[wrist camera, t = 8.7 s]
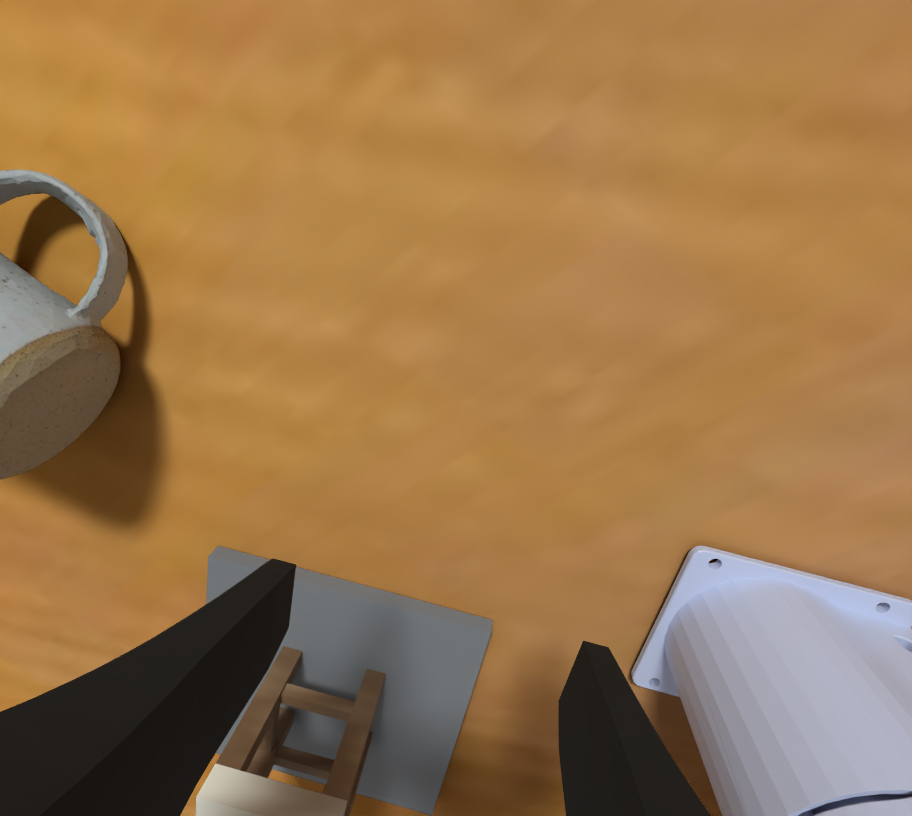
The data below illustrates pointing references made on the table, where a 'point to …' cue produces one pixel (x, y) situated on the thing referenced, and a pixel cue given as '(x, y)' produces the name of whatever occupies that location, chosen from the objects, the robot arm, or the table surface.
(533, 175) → the table surface
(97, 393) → the ceramic mug
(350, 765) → the stool
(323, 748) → the mat
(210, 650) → the robot arm
